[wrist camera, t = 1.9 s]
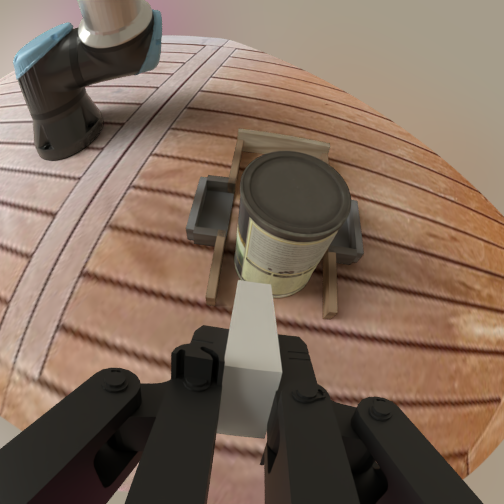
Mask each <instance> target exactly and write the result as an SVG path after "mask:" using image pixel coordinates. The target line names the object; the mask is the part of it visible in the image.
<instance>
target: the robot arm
mask: <svg viewBox="0 0 504 504" xmlns="http://www.w3.org/2000/svg"><path fill="white" fill-rule="evenodd" d="M77 1H78V4H79V7H80V10H81V13H82V16H83V19H82V21H81V23H80V25H79V27H78V28H75V29H73V25H72V24H71V23H65V24H61V25H58V26H56V27H54V28H52V29H50V30H48V31H46V32H44V33H43V34H41V35H39V36H38V37H36V38H35V39H33V40H32V41H30V42H29V43H28V44H26V45H25V46H24V47H23V48H21V49H20V50H19V51H18V53H17V54H16V56H15V57H14V62H13V63H14V68H15V73H16V79H18V82H19V85H20V88H21V91H22V93H23V96H24V99H25V101H26V104H27V106H28V109H29V111H30V114H31V116H32V119H33V130H34V143H35V147H36V149H37V152H38V154H39V155H40V157H41V158H43V159H46V160H58V159H62V158H66V157H68V156H71V155H73V154H75V153H77V152H79V151H80V150H82V149H83V148H85V147H86V146H88V145H89V144H90V143H91V142H92V141H93V140H94V139H95V138H96V137H97V136H98V135H99V133H100V132H101V130H102V127H103V119H102V116H101V113H100V111H99V109H98V108H97V106H96V105H95V104H94V102H93V101H92V100H91V98H90V97H89V96H88V94H87V93H86V89H85V86H89V85H92V84H95V83H99V82H103V81H108V80H112V79H116V78H121V77H126V76H131V75H138V74H140V73H143V72H147V71H151V70H153V69H154V68H156V66H157V65H158V63H159V60H160V53H161V37H162V17H161V13H160V11H158V10H152V9H151V7H150V5H149V3H148V2H146V1H145V0H77ZM308 353H309V352H308V349H307V345H306V344H305V343H304V342H303V341H302V339H301V338H300V337H296V336H287V335H278V334H277V326H276V318H275V311H274V303H273V295H272V288H271V284H263V283H256V282H249V281H242V280H238V283H237V289H236V295H235V300H234V306H233V312H232V318H231V323H230V329H224V328H218V327H211V326H205V325H203V326H201V327H200V328H199V329H197V330H196V331H195V332H194V335H193V337H192V340H191V343H190V344H184V345H181V346H179V347H177V348H175V349H174V351H173V352H172V354H171V380H169V381H167V382H163V383H155V384H140V380H139V379H138V377H137V376H136V375H135V374H134V373H132V372H131V371H129V370H125V369H122V368H108V369H103V370H101V371H99V372H97V373H95V374H94V375H93V376H92V377H90V378H89V379H88V380H87V381H85V382H84V383H83V384H82V385H80V386H79V387H78V388H77V389H75V390H74V391H73V392H71V393H70V394H69V395H68V396H66V397H65V398H64V399H63V400H61V401H60V402H59V403H58V404H56V405H55V406H54V407H53V408H51V409H50V410H49V411H48V412H46V413H45V414H44V415H42V416H41V417H40V418H39V419H37V420H36V421H35V422H34V423H32V424H31V425H30V426H29V427H27V428H26V429H25V430H24V431H22V432H21V433H20V434H19V435H17V436H16V437H15V438H14V439H12V440H11V441H10V442H9V443H7V444H6V445H5V446H3V447H2V448H1V449H0V504H106V503H107V502H108V501H109V499H110V498H111V497H112V496H113V495H114V493H115V492H116V491H117V490H118V488H119V487H120V486H121V485H122V483H123V482H124V481H125V479H126V478H127V477H128V476H129V474H130V473H131V472H132V470H133V469H134V468H135V467H136V465H137V464H138V463H139V465H138V467H137V470H136V473H135V476H134V479H133V481H132V484H131V487H130V490H129V493H128V496H127V499H126V501H125V504H207V498H208V491H209V484H210V476H211V469H212V462H213V455H214V448H215V440H216V433H219V434H226V435H234V436H243V437H253V438H265V435H266V431H267V443H266V447H265V450H264V453H263V456H262V459H261V463H260V465H264V469H265V504H483V503H482V501H481V500H480V499H479V498H478V497H477V496H476V495H475V493H474V492H473V491H472V490H471V489H470V488H469V487H468V485H467V484H466V483H465V482H464V481H463V480H462V479H461V477H460V476H459V475H458V474H457V473H456V472H455V471H454V469H453V468H452V467H451V466H450V465H449V464H448V463H447V461H446V460H445V459H444V458H443V457H442V456H441V455H440V453H439V452H438V451H437V450H436V449H435V448H434V447H433V446H432V444H431V443H430V442H429V441H428V440H427V439H426V438H425V436H424V435H423V434H422V433H421V432H420V431H419V430H418V429H417V427H416V426H415V425H414V424H413V423H412V422H411V421H410V419H409V418H408V417H407V416H406V415H405V414H404V413H403V412H402V410H401V409H400V408H399V407H398V406H397V405H395V404H394V403H393V402H392V401H389V400H387V399H385V398H380V397H368V398H365V399H363V400H362V401H361V402H360V403H359V404H358V406H357V407H352V406H348V405H343V404H340V403H336V402H334V401H332V400H331V399H330V396H329V394H328V392H327V391H326V390H325V389H324V388H323V387H321V386H320V385H318V384H317V381H316V378H315V374H314V370H313V367H312V363H311V361H310V360H311V359H310V356H309V354H308ZM139 461H140V462H139ZM376 462H377V463H376Z"/></svg>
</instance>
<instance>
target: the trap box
mask: <svg viewBox="0 0 504 504" xmlns="http://www.w3.org/2000/svg"><path fill="white" fill-rule="evenodd" d="M329 149H330V143H326V142H321V141H316V140H311V139H305V138H300V137H294V136H288V135H282V134H276V133H269V132H263V131H255V130H248V129H240V128H239V130H238V138H237V143H236V148H235V152H234V156H233V161H232V166H231V170H230V175H229V178H228V177H220V176H212V175H208V177H200V180H199V184H198V187H197V190H196V194H195V197H194V201H193V205H192V208H191V212H190V215H189V219H188V223H187V227H186V232H187V238H188V239H189V240H194V244H201V245H209V246H215V248H214V254H213V259H212V264H211V270H210V275H209V281H208V286H207V292H206V304H207V305H212V306H215V303H216V296H217V290H218V284H219V278H220V272H221V266H222V260H223V254H224V248H225V243H226V237H227V231H228V226H229V220H230V214H231V209H232V203H233V198H234V193H235V187H236V182H237V177H238V171H239V166H240V161H241V156H242V151H246V152H253V153H260V154H267V153H271V152H276V151H295V152H301V153H305V154H308V155H311V156H314V157H316V158H318V159H320V160H322V161H324V162H326V163H327V164H328V165H329V160H328V152H329ZM363 254H364V251H363V242H362V233H361V225H360V217H359V210H358V203H357V201H355V200H351V210H350V213H349V216H348V218H347V219H346V221H345V222H344V224H343V225H342V227H341V228H340V229H339V230H338V232H337V233H336V235H335V237H334V239H333V240H332V242H331V244H330V245H329V247H328V249H327V250H326V252H325V254H324V255H323V319H331V318H332V317H333V316H335V315H336V314H337V269H336V263H340V264H348V265H350V264H351V263H352V262H356V263H357V261H358V260H359V259H360V258H361V256H362V255H363Z"/></svg>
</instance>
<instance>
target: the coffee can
mask: <svg viewBox="0 0 504 504" xmlns="http://www.w3.org/2000/svg"><path fill="white" fill-rule="evenodd" d="M240 195H241V196H240V207H239V217H238V228H237V239H236V250H235V255H234V264H235V269H236V272H237V274H238V276H239V278H240V280H242V281H249V282H256V283H263V284H271V288H272V295H273V298H282V297H287V296H290V295H293V294H295V293H296V292H298V291H300V290H301V289H302V288H303V287H304V286H305V285H306V284H307V282H308V281H309V279H310V277H311V275H312V273H313V271H314V270H315V268H316V267H317V265H318V263H319V262H320V260H321V259H322V257H323V255H324V254H325V252H326V250H327V249H328V247H329V245H330V244H331V242H332V240H333V239H334V237H335V235H336V233H337V232H338V230H339V229H340V228H341V227H342V225H343V224H344V222H345V221H346V219H347V218H348V216H349V213H350V210H351V196H350V192H349V189H348V186H347V184H346V182H345V181H344V179H343V178H342V177H341V175H340V174H339V173H338V172H337V171H336V170H335V169H334V168H332V167H331V166H330V165H328V164H327V163H326V162H324V161H322V160H320V159H318V158H316V157H314V156H311V155H308V154H305V153H301V152H295V151H276V152H271V153H267V154H264V155H262V156H260V157H258V158H256V159H255V160H253V161H252V162H251V163H250V164H249V165H248V166H247V167H246V169H245V170H244V172H243V174H242V177H241V182H240Z"/></svg>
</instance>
